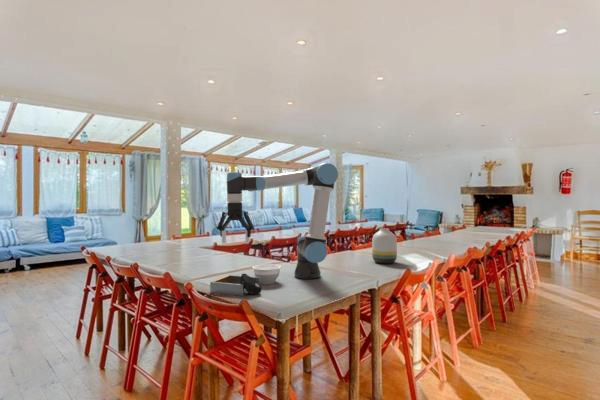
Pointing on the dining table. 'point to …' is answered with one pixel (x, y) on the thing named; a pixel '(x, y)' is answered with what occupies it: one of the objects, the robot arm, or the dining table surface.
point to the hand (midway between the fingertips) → (235, 243)
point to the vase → (384, 246)
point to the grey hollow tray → (229, 285)
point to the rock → (250, 284)
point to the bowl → (267, 272)
